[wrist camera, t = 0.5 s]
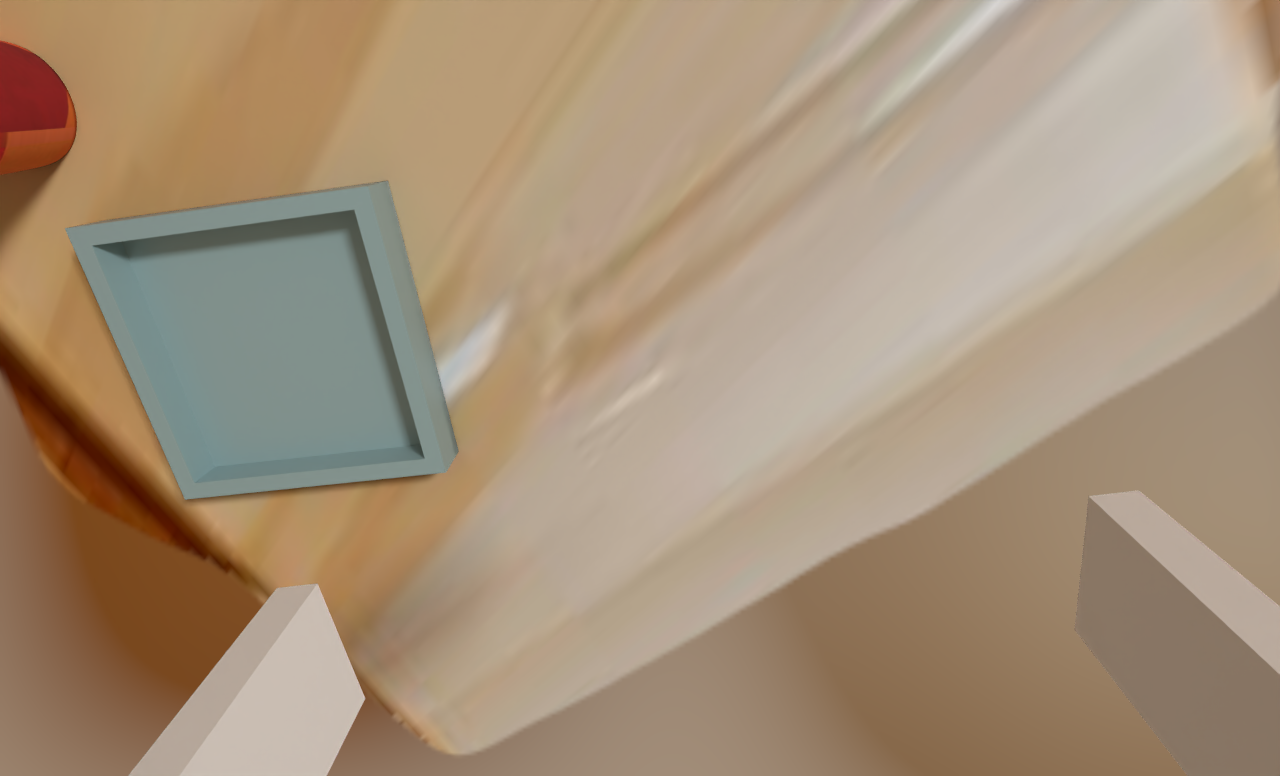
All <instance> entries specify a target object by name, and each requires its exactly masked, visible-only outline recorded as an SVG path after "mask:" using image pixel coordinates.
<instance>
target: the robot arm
mask: <svg viewBox="0 0 1280 776" xmlns="http://www.w3.org/2000/svg"><path fill="white" fill-rule="evenodd" d="M1083 546H1084V547H1083V555H1082V565H1081V574H1080V585H1079V593H1078V603H1077V612H1076V621H1075V631H1076V632H1077V634H1078V635H1079V636H1080V638H1081V639H1082V640H1083V641H1084V643H1085V644H1086V645H1087V647H1088V648H1089V649H1090V650H1091V652H1092V653H1093V654H1094V656H1095V657H1096V658H1097V659H1098V661H1099V662H1100V663H1101V665H1102V666H1103V667H1104V669H1105V670H1106V671H1107V672H1108V674H1109V675H1110V676H1111V678H1112V679H1113V680H1114V681H1115V683H1116V684H1117V685H1118V687H1119V688H1120V689H1121V690H1122V692H1123V693H1124V694H1125V696H1126V697H1127V698H1128V700H1129V701H1130V702H1131V703H1132V705H1133V706H1134V707H1135V709H1136V710H1137V711H1138V712H1139V714H1140V715H1141V716H1142V718H1143V719H1144V720H1145V721H1146V723H1147V724H1148V725H1149V727H1150V728H1151V729H1152V730H1153V732H1154V733H1155V734H1156V736H1157V737H1158V738H1159V740H1160V741H1161V742H1162V743H1163V745H1164V746H1165V747H1166V749H1167V750H1168V751H1169V752H1170V754H1171V755H1172V756H1173V758H1174V759H1175V760H1176V761H1177V762H1178V764H1179V765H1180V767H1181V768H1182V769H1183V771H1184V772H1185V773H1186V774H1187V776H1280V606H1279V605H1277V604H1276V603H1275V602H1274V601H1272V600H1271V599H1270V598H1269V597H1268V596H1266V595H1265V594H1264V593H1263V592H1261V591H1260V590H1259V589H1258V588H1257V587H1255V586H1254V585H1253V584H1252V583H1251V582H1249V581H1248V580H1247V579H1246V578H1244V577H1243V576H1242V575H1241V574H1240V573H1238V572H1237V571H1236V570H1235V569H1233V568H1232V567H1231V566H1230V565H1229V564H1227V563H1226V562H1225V561H1224V560H1223V559H1221V558H1220V557H1219V556H1218V555H1216V554H1215V553H1214V552H1213V551H1212V550H1210V549H1209V548H1208V547H1207V546H1206V545H1204V544H1203V543H1202V542H1201V541H1199V540H1198V539H1197V538H1196V537H1195V536H1193V535H1192V534H1191V533H1190V532H1189V531H1187V530H1186V529H1185V528H1184V527H1182V526H1181V525H1180V524H1179V523H1178V522H1176V521H1175V520H1174V519H1173V518H1172V517H1170V516H1169V515H1168V514H1167V513H1165V512H1164V511H1163V510H1162V509H1161V508H1159V507H1158V506H1157V505H1156V504H1155V503H1153V502H1152V501H1151V500H1150V499H1148V498H1147V497H1146V496H1145V495H1143V494H1142V493H1141V492H1140V491H1131V492H1122V493H1114V494H1105V495H1096V496H1089V499H1088V507H1087V517H1086V527H1085V536H1084V545H1083ZM364 700H365V697H364V695H363V692H362V690H361V687H360V685H359V682H358V680H357V678H356V675H355V673H354V670H353V668H352V666H351V663H350V661H349V658H348V656H347V654H346V651H345V649H344V646H343V644H342V642H341V639H340V637H339V634H338V632H337V630H336V627H335V625H334V622H333V620H332V617H331V615H330V613H329V610H328V608H327V605H326V603H325V601H324V598H323V596H322V593H321V591H320V589H319V586H318V584H309V585H300V586H291V587H283V588H277V589H276V590H275V591H274V593H273V594H272V595H271V596H270V598H269V599H268V600H267V601H266V603H265V604H264V605H263V606H262V608H261V609H260V610H259V612H258V613H257V614H256V615H255V616H254V618H253V619H252V620H251V622H250V623H249V624H248V625H247V627H246V628H245V629H244V630H243V632H242V633H241V634H240V635H239V637H238V638H237V639H236V640H235V642H234V643H233V644H232V646H231V647H230V648H229V649H228V651H227V652H226V653H225V654H224V656H223V657H222V658H221V659H220V661H219V662H218V663H217V664H216V666H215V667H214V668H213V670H212V671H211V672H210V673H209V674H208V676H207V677H206V678H205V680H204V681H203V682H202V683H201V685H200V686H199V687H198V688H197V690H196V691H195V692H194V693H193V695H192V696H191V697H190V698H189V700H188V701H187V702H186V703H185V705H184V706H183V707H182V708H181V710H180V711H179V712H178V713H177V715H176V716H175V717H174V719H173V720H172V721H171V722H170V724H169V725H168V726H167V727H166V729H165V730H164V731H163V733H162V734H161V735H160V736H159V738H158V739H157V740H156V741H155V742H154V744H153V745H152V746H151V748H150V749H149V750H148V751H147V753H146V754H145V755H144V756H143V758H142V759H141V760H140V761H139V763H138V764H137V765H136V767H135V768H134V769H133V770H132V771H131V773H130V774H129V776H327V774H328V772H329V769H330V768H331V766H332V764H333V762H334V760H335V757H336V756H337V754H338V752H339V750H340V748H341V746H342V744H343V742H344V740H345V738H346V736H347V734H348V732H349V730H350V728H351V726H352V724H353V722H354V720H355V718H356V716H357V713H358V712H359V710H360V708H361V706H362V704H363V702H364Z"/></svg>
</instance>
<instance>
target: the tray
mask: <svg viewBox="0 0 1280 776" xmlns="http://www.w3.org/2000/svg"><path fill="white" fill-rule="evenodd" d="M65 230H66V232H67V234H68V236H69V239H70V241H71V243H72V245H73V248H74V250H75V252H76V254H77V257H78V259H79V261H80V263H81V266H82V268H83V270H84V272H85V275H86V277H87V279H88V282H89V284H90V286H91V288H92V291H93V293H94V295H95V297H96V300H97V302H98V304H99V306H100V309H101V311H102V313H103V315H104V318H105V320H106V322H107V324H108V327H109V329H110V331H111V333H112V336H113V338H114V340H115V343H116V345H117V347H118V349H119V352H120V354H121V356H122V358H123V361H124V363H125V365H126V367H127V370H128V372H129V374H130V376H131V379H132V381H133V383H134V385H135V388H136V390H137V392H138V394H139V397H140V399H141V401H142V404H143V406H144V408H145V410H146V413H147V415H148V417H149V419H150V422H151V424H152V426H153V428H154V431H155V433H156V435H157V437H158V440H159V442H160V444H161V446H162V449H163V451H164V453H165V455H166V458H167V460H168V462H169V465H170V467H171V469H172V471H173V474H174V476H175V478H176V480H177V483H178V485H179V487H180V489H181V492H182V494H183V496H184V498H185V500H186V499H195V498H205V497H215V496H224V495H234V494H243V493H253V492H263V491H272V490H282V489H291V488H301V487H311V486H320V485H330V484H340V483H349V482H359V481H368V480H378V479H388V478H397V477H407V476H417V475H426V474H436V473H445V472H447V470H448V468H449V467H450V465H451V463H452V462H453V460H454V458H455V457H456V455H457V453H458V452H459V451H458V447H457V444H456V440H455V436H454V432H453V428H452V424H451V421H450V417H449V413H448V409H447V405H446V401H445V398H444V394H443V390H442V386H441V382H440V379H439V375H438V371H437V367H436V363H435V359H434V356H433V352H432V348H431V344H430V340H429V336H428V333H427V329H426V325H425V321H424V317H423V314H422V310H421V306H420V302H419V298H418V294H417V291H416V287H415V283H414V279H413V275H412V271H411V268H410V264H409V260H408V256H407V252H406V249H405V245H404V241H403V237H402V233H401V229H400V226H399V222H398V218H397V214H396V210H395V206H394V203H393V199H392V195H391V191H390V187H389V184H388V181H383V182H375V183H368V184H361V185H354V186H347V187H340V188H333V189H326V190H318V191H311V192H304V193H297V194H290V195H283V196H276V197H269V198H261V199H254V200H247V201H240V202H233V203H226V204H219V205H212V206H204V207H197V208H190V209H183V210H176V211H169V212H162V213H155V214H147V215H140V216H133V217H126V218H119V219H112V220H105V221H99V222H95V223H90V224H85V225H80V226H75V227H70V228H65Z"/></svg>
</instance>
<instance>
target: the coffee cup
mask: <svg viewBox="0 0 1280 776" xmlns="http://www.w3.org/2000/svg"><path fill="white" fill-rule="evenodd" d="M76 128H77V121H76V113H75V108H74V105H73V102H72V99H71V96H70V94H69V92H68V90H67V88H66V86H65V85H64V83H63V82H62V80H61V79H60V77H59V76H58V75H57V74H56V72H55V71H54V70H53V69H52V68H51V67H50V66H49V65H48V64H47V63H46V62H45V61H44V60H42V59H41V58H40V57H38V56H37V55H36V54H34V53H33V52H31V51H29V50H27V49H25V48H23V47H20V46H18V45H15V44H12V43H8V42H4V41H0V175H2V174H8V173H13V172H18V171H23V170H28V169H33V168H38V167H42V166H46V165H49V164H52V163H54V162H56V161H58V160H60V159H61V158H62V157H64V156H65V155H66V154H67V152H68V151H69V150H70V148H71V147H72V144H73V142H74V139H75V136H76Z"/></svg>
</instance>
